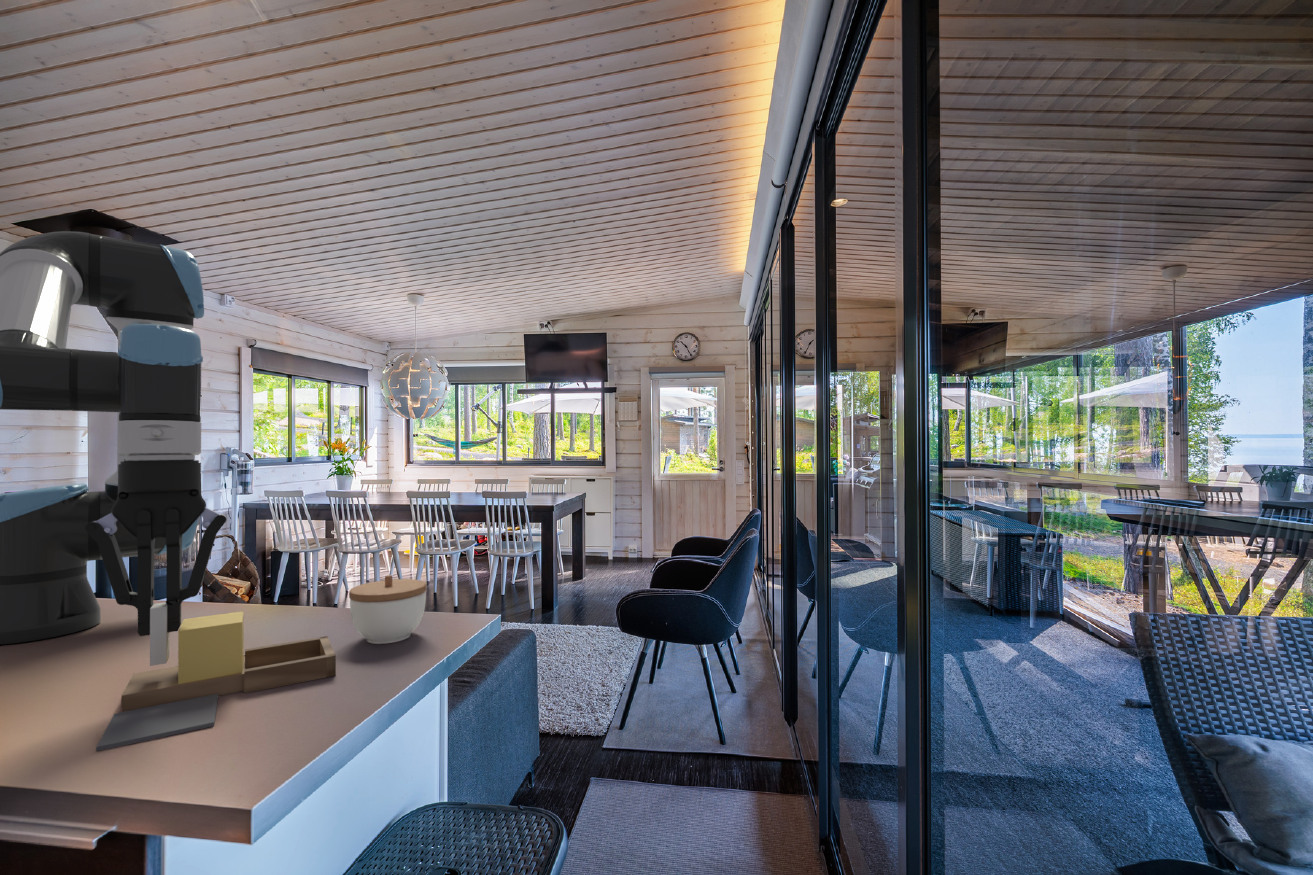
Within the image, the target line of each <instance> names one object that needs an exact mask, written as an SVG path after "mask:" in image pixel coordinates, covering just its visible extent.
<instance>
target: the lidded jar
mask: <svg viewBox="0 0 1313 875" xmlns="http://www.w3.org/2000/svg"><path fill="white" fill-rule="evenodd" d="M348 591H349V592H348V598H349V609H350V617H351V621H352V623H353V626H354V629H355V631H356V632H357V634H359V635H360V636H362V637H363V638H364V639H365V640H366V642H367V643H368V644H374V645H383V644H384V645H385V644H395V643H397V642H402V641H405V640H407V639H409V638H410V637H411V634H412V633H413V632H414V631H415V630H416V629H417V627H419V626H420V623H421V621H422V619H423V616H424V612H425V609H426V608H425V607H426V598H427V597H426V596H427V595H426V593H427V583H426V582H425V581H423V580H419V579H410V578H409V579H408V578H405V579H404V578H401V579H400V578H399V579H397V578H396V579H395V578H394V579H393V575H392V574H387V575H384V580H378V581H372V582H367V583H362V584H359V585H356V586H354V587H352V588H350V590H348Z"/></svg>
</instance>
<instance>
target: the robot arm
mask: <svg viewBox="0 0 1313 875" xmlns="http://www.w3.org/2000/svg"><path fill="white" fill-rule="evenodd" d="M198 264H199V263H198V262H197V260H196V258H195V256H194V255H192V253H190V252H189V251H187V250H184V249H181V248H175V247H171V246H166V245H163V244H156V243H149V242H143V241H138V240H132V239H131V240H130V239H123V238H118V237H111V236H104V235H99V234H93V233H89V232H83V231H70V230H69V231H68V230H64V231H52V232H47V233H46V232H45V233H40V234H35V235H32V236H29V237H25V238H23V239H21V240H18V241H16V242H14V243H12V244H9V245H8V246H7V247H6V248H4V249H3V250H2V251H0V410H2V411H3V410H5V411H6V410H7V411H8V410H9V411H10V410H12V411H14V410H15V411H64V412H65V411H67V412H68V411H69V412H70V411H71V412H96V413H97V412H98V413H117V420H116V421H117V425H116V426H117V429H116V430H117V432H116V433H117V434H116V435H117V437H116V439H117V440H116V441H117V444H116V446H117V450H116V457H117V458H116V459H117V460H116V463H117V464H116V470H115V472H114V473H113V474H112V475H110V476H109V477H108V478H106V479H105V481H104V490H97V491H95V490H94V491H89V489H90V487H89V486H88V485H87V483H85V482H83V483H74V484H64V485H55V486H48V487H47V486H46V487H42V488H41V487H40V488H34V489H27V490H18V491H10V492H4V493H0V644H1V645H10V644H19V643H26V642H33V641H38V640H45V639H50V638H56V637H60V636H65V635H68V634H73V633H76V632H80V631H83V630H87V629H89V628H93V627H94V626H97V625H98V624H100V623H101V621H102V619H101V618H102V617H101V616H102V615H101V613H102V612H101V607H100V604H99V602H98V600H97V598H96V595H95V593H94V590H93V589H92V586H91V584H90V582H89V580H88V571H87V570H88V568H87V566H88V562H89V561H100V560H101V561H103V564H104V568H105V571H106V574H107V578H108V580H109V583H110V586H111V589H112V590H111V591H112V593H113V595H114V599H115V601H116V603H117V604H118V605H120V606H123V605H126V606H131V607H135V608H136V609H137V633H138V636H139V637H145V636H149V666H150V667H151V666H158V665H164V664H166V665H167V663H168V660H169V659H170V633H173V632H178V631H179V628H180V626H181V624H182V603H183V602H184V601H185V600H188V599H190V598H194V597H196V596H197V595H199V593H200V591H201V587H202V584H203V581H204V576H206V571H207V568H208V564H209V560H210V557H211V554H212V550H213V547H214V543H215V541H216V537H217V534H218V532H219V531H221V529H222V528H223V526H224V525H225V524H226V522H227V519H228V517H227V515H226V514H225V513H219V512H217V511H214V510H212V509H211V508H208V507H207V503H206V500H204V497H203V496H202V463H201V462H200V460H198V459H196V456H199V455H201V454H202V421H201V418H202V416H201V403H202V402H201V401H202V400H201V399H202V398H201V397H202V363H203V361H204V356H203V355H202V344H201V343H202V342H201V338H200V335H198V333H196V332H195V331H194V330H193V329H194V319H197V320H198V319H202V318H203V317H204V316H205V305H204V303H205V302H204V300H205V298H204V290H203V284H202V278H201V273H200V268H199V265H198ZM74 305H78V306H79V305H80V306H89V307H96V308H102V309H105V320H106V321H108V323H110V324H111V325H112V326H113V327H114V328H115V329H116V330H117V352H115V351H102V350H101V351H100V350H88V349H87V350H86V349H85V350H84V349H78V348H67V341H68V334H69V325H70V319H71V311H72V306H74ZM195 459H196V460H195ZM200 517H201V518H202V521H201V527H203V528H204V529H205V530H204V532H203V535H202V537H201V540H200V544H199V547H198V552H197V554H196V558H195V561H194V564H193V568H192V571H191V574H190V577H189V581H188V585H187V586H185V587H183V577H182V576H183V564H182V563H183V551H185V550H187V549H189V547H191V546H192V543H193V542H194V540H195V537H196V533H197V528H198V525H199V519H200ZM162 554H163V555H164V554H166V569H165V570H166V573H165V574H166V576H165V577H166V583H165V584H166V591H165V592H166V601H165V602H158V603H154V600H155V556H161V555H162ZM132 557H137V575H136V576H137V578H136V584H137V586H136V588H137V589H136V590H137V591H136V592H135V591H134V589H133V588H132V584H131V581H130V577H129V574H128V571H127V568H126V566H125V562H124V559H123V558H132Z"/></svg>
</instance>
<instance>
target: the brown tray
mask: <svg viewBox="0 0 1313 875" xmlns="http://www.w3.org/2000/svg"><path fill="white" fill-rule="evenodd" d="M336 658H337V656H336V652H335V650H334V648H333V646H332V643H331V641H330V639H329V636H328V635H326V636H318V637H313V638H308V639H307V638H306V639H300V640H294V641H288V642H283V643H282V642H281V643H277V644H270V645H269V644H268V645H265V646H264V645H262V646H257V647H251V648H244V659H243V672H242V673H238V674H233V675H227V676H221V677H216V678H210V679H205V680H199V681H193V682H188V683H182V684H178V665H177V666H172V667H165V668H159V669H154V670H147V671H141V672H135V673H133V674H132V676H131V678H130V679H129V681H128V683H127V685H126V686H125V689H124V690H123V692H122V694H121V698H120V699H121V704H120V705H121V706H120V707H121V710H120V712H124V711H130V710H135V709H140V708H145V707H151V706H156V705H161V704H166V703H172V702H177V701H182V700H187V699H193V698H198V697H203V696H208V695H213V694H218V697H219V696H225V695H230V694H234V693H239V692H243V694H248V693H252V692H257V691H263V690H269V689H274V688H280V687H284V686H289V685H294V684H295V685H296V684H299V683H300V684H301V683H304V682H310V681H315V680H320V679H325V678H329V677H336V676H337V675H336V674H337V669H336V667H337V666H336V665H337V663H336V662H337V659H336Z"/></svg>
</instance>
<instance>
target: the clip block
mask: <svg viewBox="0 0 1313 875" xmlns="http://www.w3.org/2000/svg"><path fill="white" fill-rule="evenodd" d="M177 633H178V634H177V636H178V637H177V639H178V640H177V641H178V642H177V646H178V647H177V648H178V651H177V653H178V655H177V658H178V662H177V663H178V664H177V666H178V684H182V683H188V682H193V681H199V680H205V679H210V678H216V677H221V676H227V675H233V674H238V673H242V672H243V659H244V655H245V648H244V645H245V644H244V640H245V639H244V637H245V636H244V635H245V634H244V610H243V611H235V612H228V613H220V614H212V615H211V614H210V615H204V616H197V617H196V616H195V617H190V618H184V619H183V620H182V621H181V625H180V627H179V629H178V631H177Z"/></svg>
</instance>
